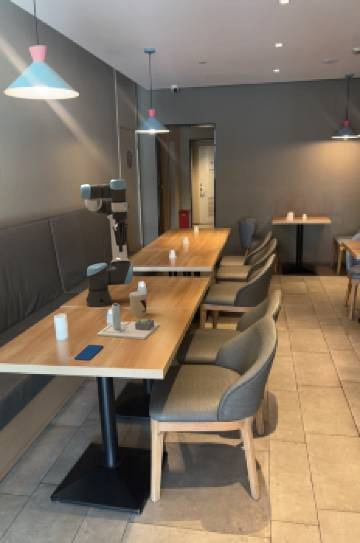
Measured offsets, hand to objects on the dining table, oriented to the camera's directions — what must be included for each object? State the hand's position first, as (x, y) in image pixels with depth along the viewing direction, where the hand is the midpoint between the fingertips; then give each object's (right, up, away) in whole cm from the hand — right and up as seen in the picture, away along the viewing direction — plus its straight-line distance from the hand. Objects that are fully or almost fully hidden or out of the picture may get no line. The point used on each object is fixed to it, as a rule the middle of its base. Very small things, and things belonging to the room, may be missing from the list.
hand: (122, 257), depth 227 cm
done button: (+12, -33, -11) cm, 37 cm away
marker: (-1, -35, -12) cm, 36 cm away
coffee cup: (+7, -30, +13) cm, 34 cm away
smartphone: (-9, -42, -37) cm, 57 cm away
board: (+5, -35, -11) cm, 37 cm away
